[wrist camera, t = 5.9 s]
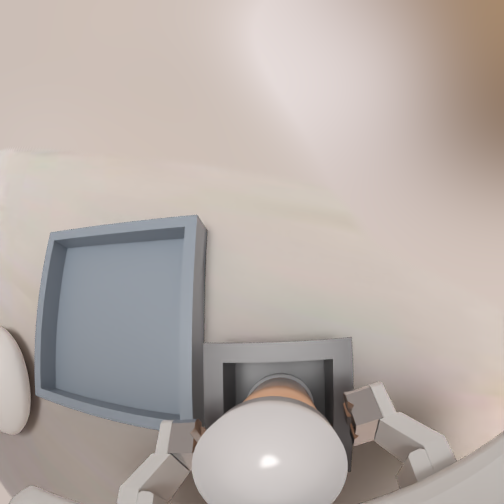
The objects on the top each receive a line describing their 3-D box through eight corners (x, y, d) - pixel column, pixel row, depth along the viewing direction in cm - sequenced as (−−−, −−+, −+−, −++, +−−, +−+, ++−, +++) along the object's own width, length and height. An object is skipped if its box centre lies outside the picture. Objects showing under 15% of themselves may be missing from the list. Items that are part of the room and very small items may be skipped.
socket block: (224, 449, 16) (206, 473, 11) (222, 345, 18) (203, 342, 14) (337, 446, 15) (350, 471, 11) (336, 340, 17) (351, 336, 13)
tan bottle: (249, 430, 15) (196, 522, 5) (248, 373, 16) (188, 401, 6) (311, 429, 15) (341, 524, 4) (311, 371, 16) (350, 399, 6)
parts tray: (54, 394, 18) (35, 395, 15) (67, 242, 23) (50, 232, 20) (204, 426, 16) (193, 435, 14) (206, 230, 21) (197, 214, 19)
